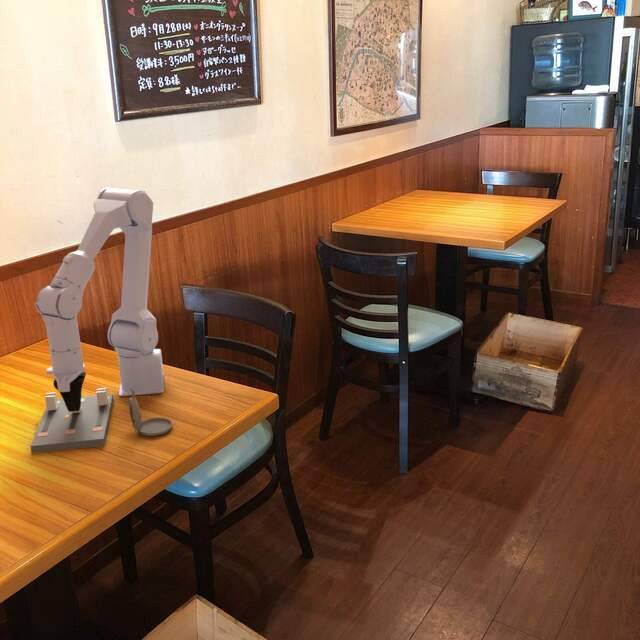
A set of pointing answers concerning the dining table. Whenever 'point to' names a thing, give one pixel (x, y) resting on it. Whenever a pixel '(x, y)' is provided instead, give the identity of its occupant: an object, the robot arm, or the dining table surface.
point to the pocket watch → (150, 425)
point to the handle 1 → (51, 401)
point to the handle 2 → (102, 396)
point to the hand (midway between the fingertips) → (74, 409)
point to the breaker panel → (73, 426)
